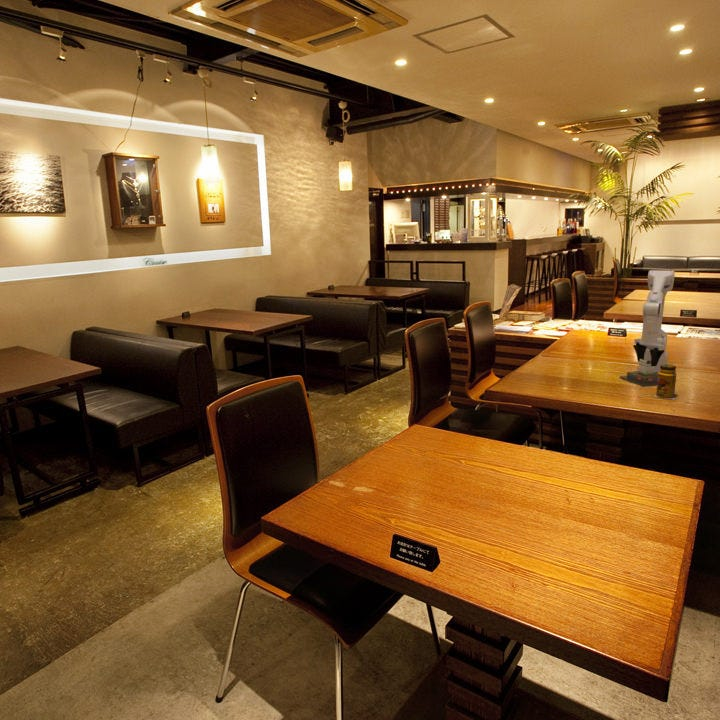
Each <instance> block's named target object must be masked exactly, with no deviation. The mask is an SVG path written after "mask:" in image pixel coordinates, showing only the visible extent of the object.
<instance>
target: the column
mask: <svg viewBox="0 0 720 720" xmlns="http://www.w3.org/2000/svg"><path fill="white" fill-rule="evenodd" d="M654 367H655V366H651V359H650V358H642V359H640V361H639V362H638V368H639V369H638V370H637V371H638V374H641V375H644V376H650V375H654Z"/></svg>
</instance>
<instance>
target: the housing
mask: <svg viewBox="0 0 720 720" xmlns="http://www.w3.org/2000/svg"><path fill="white" fill-rule="evenodd" d="M638 371H639V370H634V371H627V373H626V375H620V376H619V379H620V378H621V380H623V381H625V382H629V383H631V384H634V385H637V386H640V387H642V388H646V387H655V386H656V387H657V381H658V373H659V372H654V375H650V376H644V375H641V374H638Z"/></svg>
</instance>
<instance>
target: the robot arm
mask: <svg viewBox="0 0 720 720" xmlns="http://www.w3.org/2000/svg"><path fill="white" fill-rule="evenodd" d="M675 275H676V274H675V271H674V270H673V269H672V270H655V269H654V270H652V269H650V270H649V271H648V274H647V288H648V290H650V291H649V292H648V294H647V298H646V301H645V303H644V304H643V306H642V321H643V322H642V333H641V338H634V342H633V343H634V345H633V344H632V345H633V346H632V347H633V349H634V351H635V355H636V358H637V362H638V363H639V361H640V359H642V358H650V359H651V366H655V367H654V372H655V373H659V371H660V366H661V365H668V360H669V359H668V353H667V351H666V349H667V344H668V343H667V342H668V334H667V332H666V331H664V330H663V328H662V323H663V316H664V310H665V303H666V302H665V300H666V295H667V294H668V292H671V291H672V290H673V288H674V281H675ZM637 369H638V370H639V367H637Z"/></svg>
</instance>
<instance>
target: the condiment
mask: <svg viewBox="0 0 720 720" xmlns="http://www.w3.org/2000/svg"><path fill="white" fill-rule="evenodd" d="M676 369H677V367H676V365H673V364H667V365H661V366H660V371H659V372H657V373H658V381H657V386H656V393H655V394H654V395H653V396H652V397H655V398H659V399H666V400H676V398H678V396H679V394H680V393H676V381H677V373H676V371H677V370H676Z"/></svg>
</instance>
